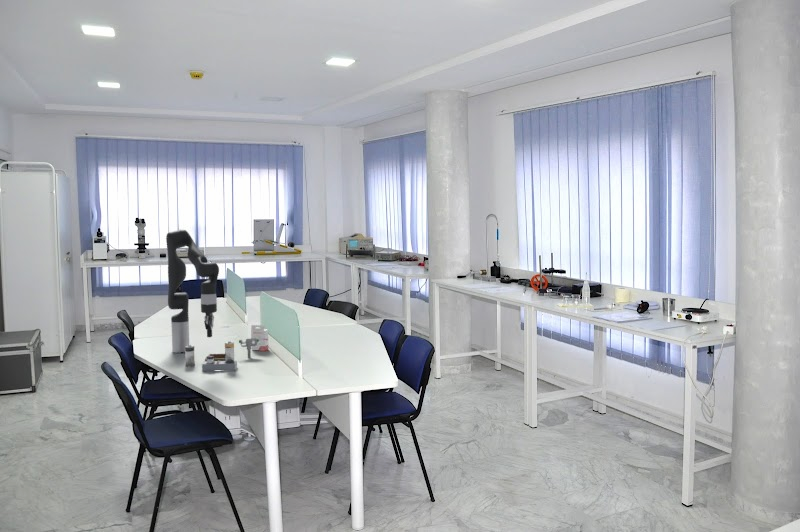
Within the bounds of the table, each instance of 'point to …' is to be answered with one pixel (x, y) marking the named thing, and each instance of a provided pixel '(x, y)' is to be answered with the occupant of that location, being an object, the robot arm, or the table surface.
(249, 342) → the mechanical component
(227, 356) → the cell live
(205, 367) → the tester
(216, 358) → the bin
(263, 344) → the ink cartridge box
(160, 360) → the table surface
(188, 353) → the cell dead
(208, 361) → the plunger
